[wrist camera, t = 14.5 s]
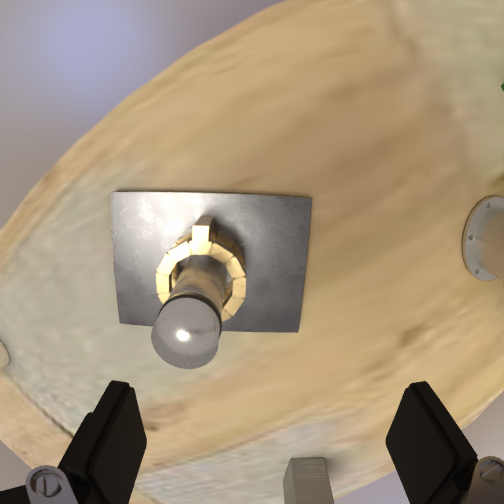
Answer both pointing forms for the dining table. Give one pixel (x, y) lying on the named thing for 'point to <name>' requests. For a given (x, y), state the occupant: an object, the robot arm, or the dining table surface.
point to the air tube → (192, 314)
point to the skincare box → (307, 482)
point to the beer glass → (3, 356)
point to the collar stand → (212, 253)
